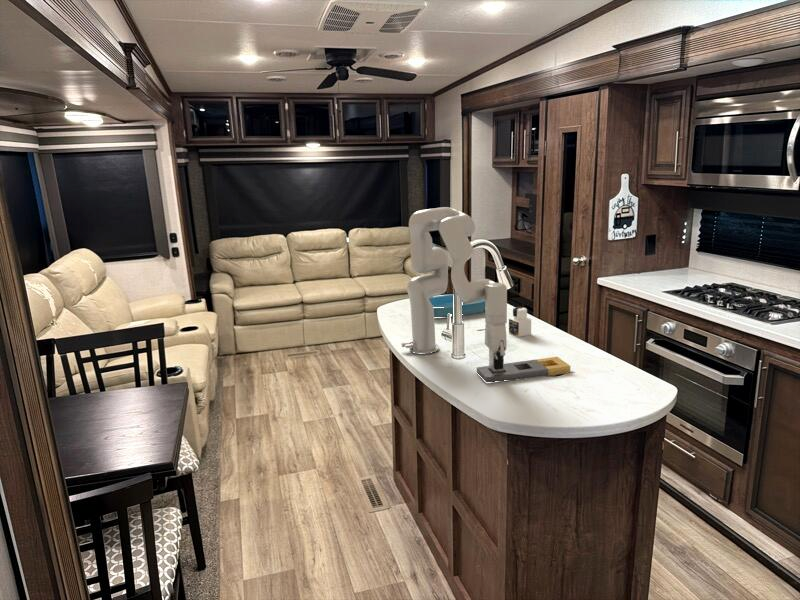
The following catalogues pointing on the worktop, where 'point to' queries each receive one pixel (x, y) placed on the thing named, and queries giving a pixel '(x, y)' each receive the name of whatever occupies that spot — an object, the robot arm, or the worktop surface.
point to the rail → (526, 369)
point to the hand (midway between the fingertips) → (496, 366)
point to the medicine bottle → (520, 322)
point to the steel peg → (491, 362)
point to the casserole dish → (447, 303)
